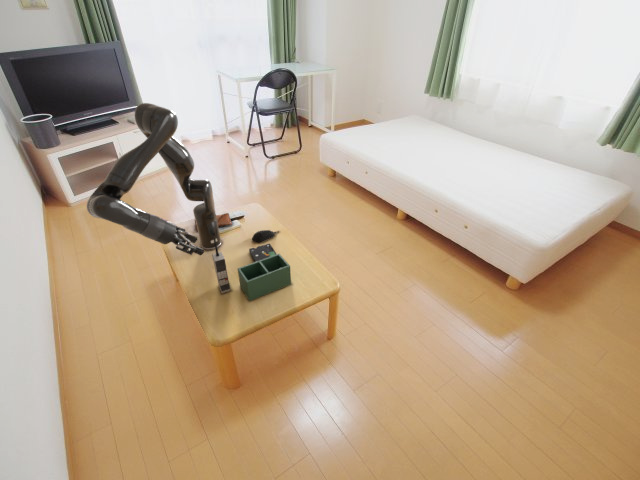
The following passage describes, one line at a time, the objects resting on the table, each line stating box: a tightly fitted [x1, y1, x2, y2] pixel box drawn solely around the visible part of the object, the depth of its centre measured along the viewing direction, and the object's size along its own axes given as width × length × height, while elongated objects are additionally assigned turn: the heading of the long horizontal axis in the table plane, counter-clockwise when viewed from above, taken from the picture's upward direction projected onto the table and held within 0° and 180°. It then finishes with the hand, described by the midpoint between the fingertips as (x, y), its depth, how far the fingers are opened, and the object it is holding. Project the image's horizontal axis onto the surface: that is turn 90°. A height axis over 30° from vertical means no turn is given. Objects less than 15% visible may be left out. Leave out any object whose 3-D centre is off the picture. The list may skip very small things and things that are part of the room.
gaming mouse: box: [251, 229, 279, 244], centre depth 166 cm, size 6×15×4 cm, turn 129°
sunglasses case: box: [194, 212, 233, 233], centre depth 175 cm, size 18×7×7 cm, turn 115°
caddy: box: [237, 253, 292, 302], centre depth 136 cm, size 10×18×10 cm, turn 123°
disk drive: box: [248, 243, 277, 263], centre depth 152 cm, size 10×3×15 cm
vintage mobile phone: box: [211, 237, 232, 294], centre depth 130 cm, size 4×5×25 cm
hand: (199, 246), depth 121 cm, fingers open, 8 cm apart
